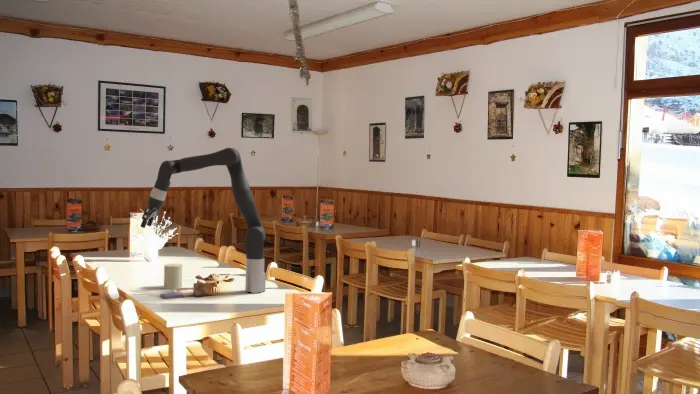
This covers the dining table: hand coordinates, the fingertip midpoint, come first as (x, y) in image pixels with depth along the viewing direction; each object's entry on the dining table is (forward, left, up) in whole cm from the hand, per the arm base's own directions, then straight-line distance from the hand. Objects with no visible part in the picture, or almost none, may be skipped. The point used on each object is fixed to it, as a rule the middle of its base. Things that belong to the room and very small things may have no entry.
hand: (145, 226), depth 313 cm
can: (-12, +6, -32) cm, 35 cm away
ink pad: (-3, +27, -31) cm, 42 cm away
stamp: (-15, +31, -31) cm, 47 cm away
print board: (-13, +22, -31) cm, 41 cm away
